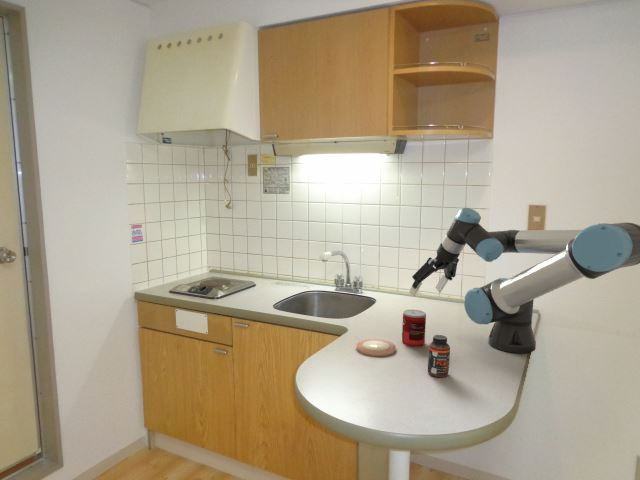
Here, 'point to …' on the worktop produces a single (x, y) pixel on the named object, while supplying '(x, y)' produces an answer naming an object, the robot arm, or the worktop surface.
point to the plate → (376, 347)
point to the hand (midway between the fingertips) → (425, 292)
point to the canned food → (413, 328)
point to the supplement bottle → (439, 356)
